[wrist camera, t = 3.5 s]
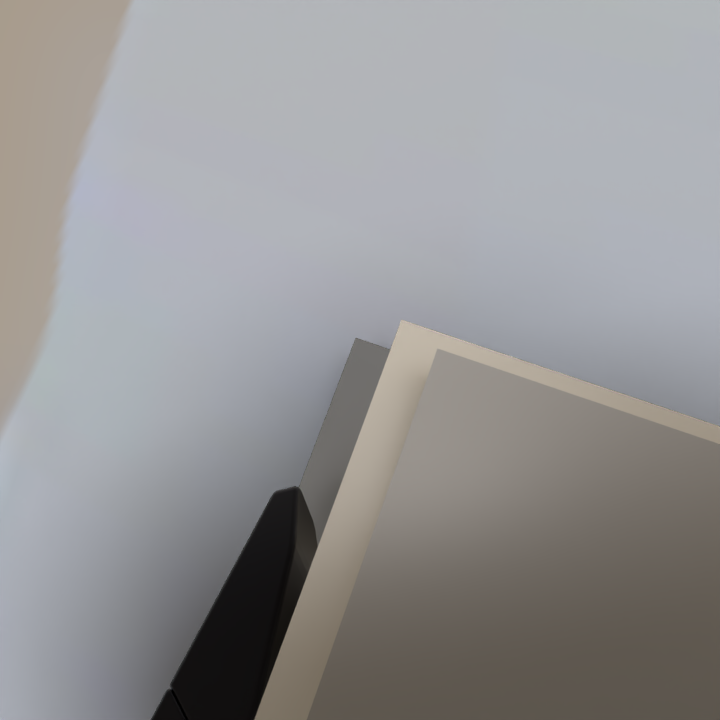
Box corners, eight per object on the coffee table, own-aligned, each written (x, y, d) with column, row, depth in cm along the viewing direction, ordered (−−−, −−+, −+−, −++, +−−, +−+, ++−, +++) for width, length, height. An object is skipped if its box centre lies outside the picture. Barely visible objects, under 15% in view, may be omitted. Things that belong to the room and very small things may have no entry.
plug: (481, 611, 15) (1022, 1502, 2) (359, 562, 15) (128, 1005, 2) (519, 486, 15) (1136, 513, 2) (401, 443, 16) (400, 277, 3)
